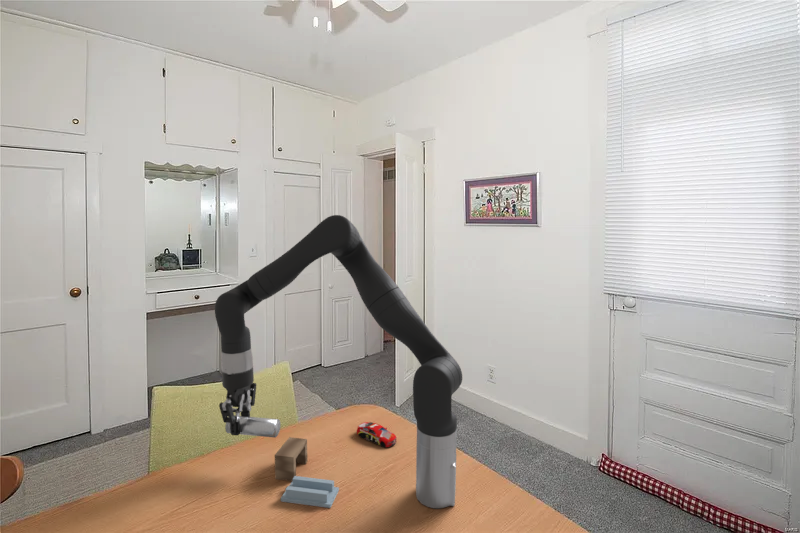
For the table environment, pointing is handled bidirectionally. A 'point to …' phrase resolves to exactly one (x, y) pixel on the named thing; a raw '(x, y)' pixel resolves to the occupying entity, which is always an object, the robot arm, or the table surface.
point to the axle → (257, 426)
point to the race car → (376, 434)
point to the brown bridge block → (290, 458)
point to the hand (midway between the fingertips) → (240, 429)
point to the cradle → (311, 492)
